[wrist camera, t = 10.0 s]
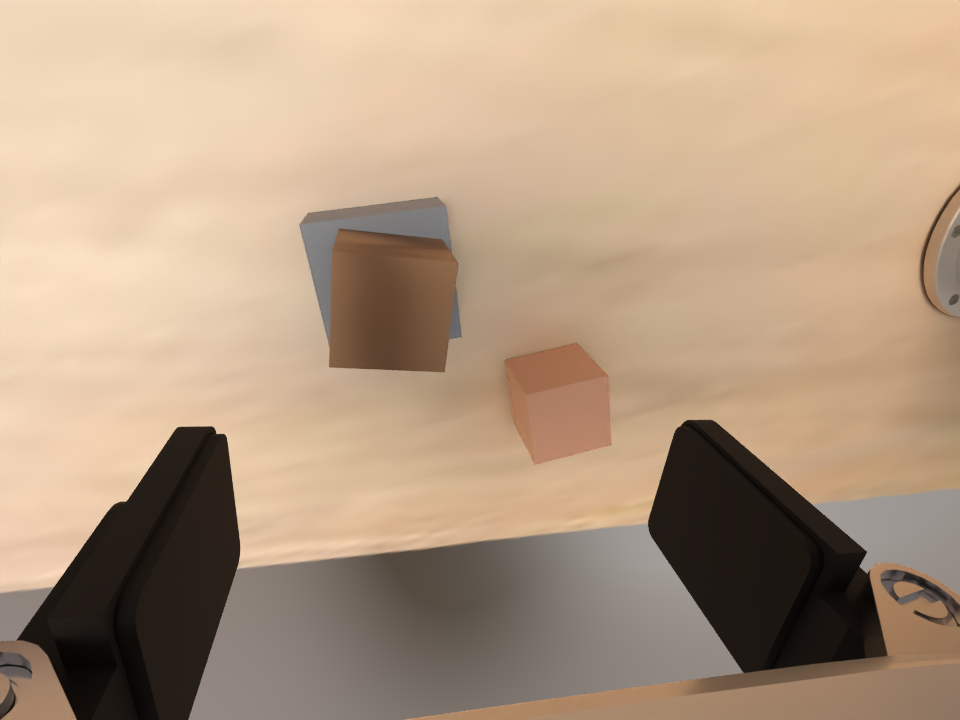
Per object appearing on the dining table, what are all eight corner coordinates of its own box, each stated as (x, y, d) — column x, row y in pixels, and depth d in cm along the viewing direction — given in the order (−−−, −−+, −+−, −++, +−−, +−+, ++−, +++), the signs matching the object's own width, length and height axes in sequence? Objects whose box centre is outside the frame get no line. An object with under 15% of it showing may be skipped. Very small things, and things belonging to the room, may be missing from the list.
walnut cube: (442, 239, 25) (458, 262, 21) (432, 332, 27) (444, 371, 22) (338, 228, 24) (331, 250, 19) (336, 326, 26) (329, 367, 21)
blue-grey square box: (436, 196, 28) (445, 206, 24) (450, 313, 31) (461, 336, 27) (308, 212, 27) (299, 224, 23) (336, 331, 30) (332, 358, 26)
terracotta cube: (576, 342, 33) (607, 375, 29) (580, 405, 36) (611, 444, 31) (504, 359, 33) (525, 395, 28) (513, 422, 35) (534, 464, 31)
